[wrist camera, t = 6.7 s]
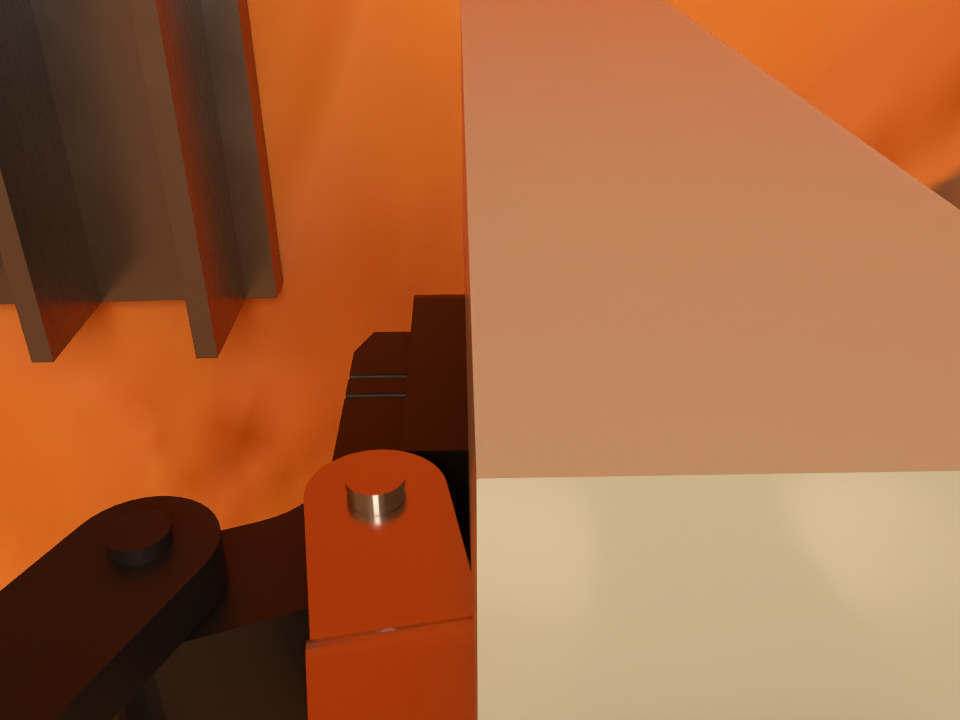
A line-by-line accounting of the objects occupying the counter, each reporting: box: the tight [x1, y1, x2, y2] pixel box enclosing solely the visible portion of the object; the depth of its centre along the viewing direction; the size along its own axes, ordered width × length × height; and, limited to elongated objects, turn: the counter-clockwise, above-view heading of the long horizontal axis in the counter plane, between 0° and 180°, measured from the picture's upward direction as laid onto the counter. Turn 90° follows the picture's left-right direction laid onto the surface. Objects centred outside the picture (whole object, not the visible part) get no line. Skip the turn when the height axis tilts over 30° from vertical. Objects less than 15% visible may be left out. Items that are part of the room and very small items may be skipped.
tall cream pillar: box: [460, 0, 960, 720], centre depth 10 cm, size 8×3×12 cm, turn 1°
